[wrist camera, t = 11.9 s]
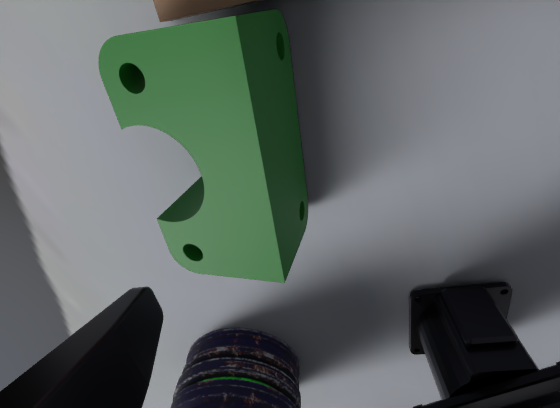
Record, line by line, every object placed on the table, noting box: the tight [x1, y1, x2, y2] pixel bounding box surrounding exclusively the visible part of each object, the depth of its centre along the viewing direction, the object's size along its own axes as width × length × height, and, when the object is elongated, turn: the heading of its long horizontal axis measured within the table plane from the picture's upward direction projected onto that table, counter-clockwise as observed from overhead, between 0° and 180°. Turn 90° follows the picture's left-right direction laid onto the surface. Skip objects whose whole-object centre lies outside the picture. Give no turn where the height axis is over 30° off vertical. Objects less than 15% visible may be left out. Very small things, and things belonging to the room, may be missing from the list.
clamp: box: [99, 9, 308, 283], centre depth 16 cm, size 12×6×9 cm, turn 3°
